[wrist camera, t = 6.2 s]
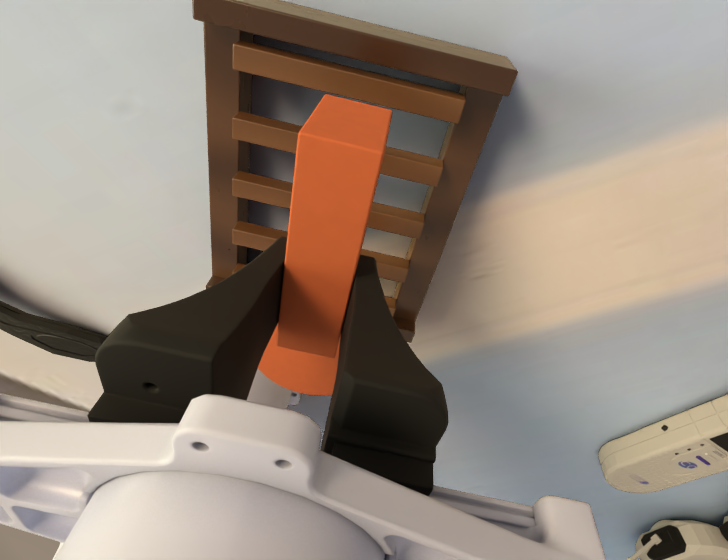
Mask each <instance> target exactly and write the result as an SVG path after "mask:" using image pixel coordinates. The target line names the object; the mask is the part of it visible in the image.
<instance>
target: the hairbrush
mask: <svg viewBox="0 0 728 560" xmlns="http://www.w3.org/2000/svg"><path fill="white" fill-rule="evenodd" d="M0 329H1V330H3V331H5V332H7V333H9V334H11V335H13V336H15V337H17V338H20V339H22V340H24V341H26V342H29V343H31V344H33V345H35V346H37V347H40V348H42V349H44V350H46V351H49V352H51V353H53V354H57V355H62V356H66V357H71V358H75V359H80V360H84V361H89V362H96V361H95V355H96V352H97V350H98V348H99V347H100V346H101V345H102V343H103V342H104V341H105V340H106V338H107V337H106V336H104V335H100V334H97V333H94V332H91V331H88V330H85V329H81V328H78V327H75V326H72V325H69V324H65V323H61V322H57V321H54V320H50V319H46V318H43V317H39V316H35V315H32V314H28V313H25V312H23V311H21V310H19V309H17V308H15V307H13V306H11V305H9V304H6V303H4V302H2V301H0Z"/></svg>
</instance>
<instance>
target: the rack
mask: <svg viewBox="0 0 728 560" xmlns="http://www.w3.org/2000/svg"><path fill="white" fill-rule="evenodd" d="M192 4H193V18H194V19H195V20H199V21H203V22H204V48H205V76H206V105H207V133H208V162H209V191H210V219H211V248H212V277H211V279H210V280H209V282H208V283H207V285H206V289H208V288H210V287H212V286H214V285H215V284H217V283H219V282H221V281H223V280H224V279H226V278H228V277H229V276H231V275H232V274H234V273H235V272H237V271H238V270H240V269H241V268H243V267H244V266H246V265H247V247H249V248H254V249H258V250H262V251H265V250H266V249H267V248H268V247H270V246H271V245H272V244H273V243H274V242H275V241H276V240H277V239H278V238H280V237H282V236H283V237H287V235H288V232H286V231H282V230H277V229H273V228H269V227H264V226H260V225H256V224H251V223H248V199H249V200H253V201H258V202H262V203H266V204H271V205H275V206H279V207H283V208H288V209H290V206H291V197H292V187H293V183H290V182H285V181H281V180H277V179H273V178H268V177H264V176H260V175H256V174H251V173H249V164H250V143H253V144H258V145H262V146H266V147H270V148H274V149H279V150H283V151H287V152H291V153H296V149H297V140H298V133H299V131H300V130H301V128H302V127H303V126H299V125H295V124H291V123H287V122H283V121H278V120H274V119H270V118H266V117H262V116H258V115H253V114H251V96H252V74H254V75H258V76H262V77H266V78H271V79H275V80H279V81H283V82H287V83H291V84H295V85H299V86H303V87H308V88H312V89H316V90H320V91H324V92H328V93H332V94H336V95H341V96H345V97H349V98H353V99H357V100H361V101H365V102H369V103H373V104H378V105H382V106H386V107H390V108H394V109H398V110H402V111H406V112H410V113H415V114H419V115H423V116H427V117H431V118H435V119H439V120H443V121H448V122H449V126H448V129H447V132H446V135H445V138H444V141H443V144H442V147H441V150H440V153H439V156H438V159H437V158H433V157H429V156H425V155H420V154H416V153H412V152H408V151H404V150H400V149H395V148H391V147H387V146H386V148H385V153H384V158H383V162H382V166H381V170H380V174H384V175H388V176H393V177H397V178H401V179H405V180H409V181H414V182H418V183H422V184H426V185H429V187H428V190H427V194H426V197H425V200H424V203H423V206H422V209H421V212H420V213H418V212H413V211H409V210H405V209H401V208H396V207H392V206H388V205H383V204H379V203H375V202H373V203H372V207H371V211H370V215H369V220H368V224H367V227H370V228H374V229H378V230H383V231H387V232H391V233H395V234H400V235H404V236H408V237H412V240H411V243H410V246H409V249H408V252H407V255H406V258H405V259H403V258H399V257H395V256H390V255H386V254H382V253H377V252H373V251H369V250H364V249H361V253H360V254H361V255H365V256H369V257H374V258H375V260H376V263H377V271H378V276H379V277H381V278H385V279H389V280H394V281H398V283H397V286H396V289H395V292H394V295H393V298H391V297H386V296H384V297H385V299H386V302H387V305H388V307H389V310H390V312H391V314H392V317H393V319H394V321H395V323H396V325H397V327H398V329H399V330H400V332H401V334H402V336H403V337H404V339H405V341H406V342H409V343H411V342H412V339H413V337H414V334H415V321H416V318H417V316H418V313H419V311H420V308H421V305H422V303H423V300H424V298H425V295H426V293H427V290H428V287H429V285H430V282H431V280H432V277H433V274H434V272H435V269H436V267H437V264H438V262H439V259H440V256H441V254H442V251H443V249H444V246H445V243H446V241H447V238H448V236H449V233H450V231H451V228H452V225H453V223H454V220H455V218H456V215H457V212H458V210H459V207H460V205H461V202H462V200H463V197H464V194H465V192H466V189H467V187H468V184H469V181H470V179H471V176H472V174H473V171H474V169H475V166H476V163H477V161H478V158H479V156H480V153H481V150H482V148H483V145H484V143H485V140H486V138H487V135H488V132H489V130H490V127H491V125H492V122H493V119H494V117H495V114H496V112H497V109H498V107H499V104H500V101H501V99H502V96H508V95H509V94H510V91H511V89H512V86H513V84H514V81H515V79H516V76H517V74H518V71H517V70H516V68H515V67H514V66H513V64H512V63H511V62H510V60H509V59H508V58H507V57H505V56H501V55H497V54H493V53H489V52H485V51H481V50H477V49H473V48H469V47H465V46H461V45H457V44H453V43H449V42H445V41H441V40H437V39H433V38H429V37H425V36H421V35H417V34H413V33H409V32H405V31H401V30H397V29H393V28H389V27H385V26H381V25H377V24H373V23H369V22H365V21H361V20H357V19H353V18H349V17H345V16H341V15H337V14H333V13H329V12H325V11H321V10H317V9H313V8H309V7H305V6H301V5H297V4H293V3H289V2H285V1H281V0H192ZM253 34H256V35H260V36H264V37H268V38H272V39H276V40H280V41H284V42H288V43H292V44H296V45H300V46H304V47H308V48H312V49H316V50H320V51H325V52H329V53H333V54H337V55H341V56H345V57H349V58H353V59H357V60H361V61H365V62H369V63H373V64H377V65H381V66H385V67H389V68H394V69H398V70H402V71H406V72H410V73H414V74H418V75H422V76H426V77H430V78H434V79H438V80H442V81H446V82H450V83H454V84H459V85H461V89H460V92H459V93H456V92H452V91H448V90H444V89H440V88H436V87H432V86H428V85H423V84H419V83H415V82H411V81H407V80H403V79H399V78H395V77H391V76H387V75H383V74H379V73H375V72H371V71H366V70H362V69H358V68H354V67H350V66H346V65H342V64H338V63H334V62H330V61H326V60H322V59H318V58H314V57H309V56H305V55H301V54H297V53H293V52H289V51H285V50H281V49H277V48H273V47H269V46H265V45H261V44H256V43H253Z"/></svg>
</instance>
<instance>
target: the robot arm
mask: <svg viewBox="0 0 728 560" xmlns="http://www.w3.org/2000/svg"><path fill="white" fill-rule="evenodd" d="M286 245H287V237H283V236H282V237H280V238H278V239H277V240H276V241H275V242H274V243H273V244H272V245H271V246H270V247H268V248H267V249H266V250H265V251H264V252H262V253H261V254H260V255H259V256H257V257H256V258H255V259H254V260H252V261H251V262H250V263H248V264H247V265H246V266H244V267H243V268H241V269H240V270H238V271H237V272H235V273H234V274H232V275H231V276H229V277H228V278H226V279H224V280H223V281H221V282H219V283H217V284H215V285H214V286H212V287H210V288H208V289H206V290H203V291H201V292H199V293H196V294H194V295H192V296H190V297H187V298H185V299H182V300H179V301H176V302H173V303H170V304H167V305H164V306H161V307H157V308H153V309H149V310H145V311H141V312H137V313H133V314H129V315H128V316H127V317H126V318H125V319H124V320H123V321H122V322H120V323H119V324H118V326H117V327H116V328H115V329H114V330H113V331H112V332H111V334H110V335H109V336H108V337H107V338H106V340H105V341H104V342H103V343H102V345H101V346H100V347H99V348H98V350H97V352H96V355H95V361H96V366H97V370H98V373H99V376H100V379H101V383H102V386H103V389H104V393H103V394H102V396H101V397H100V398H99V400H98V401H97V402H96V404H95V405H94V407H93V408H92V409H91V411H90V412H86V411H81V410H76V409H72V408H67V407H62V406H58V405H53V404H48V403H44V402H39V401H34V400H29V399H25V398H20V397H15V396H11V395H6V394H1V393H0V523H1V524H4V525H7V526H10V527H14V528H17V529H20V530H24V531H27V532H30V533H33V534H36V535H40V536H43V537H46V538H49V539H53V540H56V541H59V542H60V546H59V548H58V550H57V552H56V554H55V556H54V558H53V560H606V558H605V554H604V551H603V547H602V544H601V541H600V537H599V534H598V531H597V527H596V524H595V521H594V517H593V514H592V511H591V507H590V505H589V504H588V503H585V502H581V501H576V500H571V499H567V498H562V497H557V496H544V497H542V498H540V499H539V500H538V501H537V502H536V503H535V504H534V506H533V507H532V506H527V505H522V504H518V503H513V502H508V501H504V500H499V499H494V498H489V497H485V496H480V495H475V494H471V493H466V492H461V491H457V490H452V489H447V488H443V487H438V486H433V463H434V462H435V460H436V446H437V444H438V442H439V441H440V439H441V437H442V436H443V434H444V432H445V431H446V428H447V425H448V410H447V404H446V399H445V395H444V391H443V387H442V384H441V383H440V382H439V381H438V380H437V379H436V378H435V377H434V376H433V375H432V374H431V373H430V372H429V371H428V370H427V369H426V368H425V366H424V365H423V364H422V363H421V362H420V360H419V359H418V358H417V357H416V355H415V354H414V352H413V351H412V349H411V348H410V347H409V345H408V344H407V342H406V341H405V339H404V337H403V336H402V334H401V332H400V330H399V329H398V327H397V325H396V323H395V321H394V319H393V317H392V314H391V312H390V310H389V307H388V305H387V302H386V299H385V297H384V293H383V290H382V287H381V284H380V280H379V276H378V271H377V263H376V260H375V258H374V257H369V256H365V255H361V254H360V257H359V261H358V265H357V269H356V273H355V277H354V281H353V286H352V290H351V294H350V298H349V302H348V306H347V310H346V314H345V319H344V323H343V327H342V331H341V338H340V347H339V357H338V366H337V373H336V379H335V384H334V389H333V393H332V398H331V403H330V407H329V412H328V417H327V421H326V426H325V431H324V435H323V440H322V445H321V449H320V450H319V446H320V442H321V432H320V427H319V426H318V425H317V424H316V423H315V422H314V421H313V420H312V419H310V418H309V417H308V416H306V415H303V414H301V413H298V412H296V411H292V410H288V409H287V405H288V404H290V405H297V404H298V403H299V399H300V394H301V393H298V392H295V391H292V390H289V389H286V388H284V387H282V386H280V385H278V384H276V383H275V382H273V381H272V380H270V379H269V378H267V377H266V376H265V375H264V374H263V373H262V372H261V371H260V370H259V369H258V366H259V363H260V361H261V358H262V356H263V353H264V351H265V349H266V347H267V345H268V343H269V341H270V339H271V336H272V334H273V332H274V330H275V328H276V326H277V324H278V321H279V311H280V302H281V292H282V283H283V273H284V264H285V254H286Z"/></svg>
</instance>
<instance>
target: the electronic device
mask: <svg viewBox="0 0 728 560" xmlns="http://www.w3.org/2000/svg"><path fill="white" fill-rule="evenodd" d="M598 457H599V461H600V464H601V467H602V470H603V474H604V477H605V479H606V481H607V482H608V483H609V484H610V485H611V486H613V487H614V488H616V489H619V490H622V491H625V492H632V493H647V492H656V491H659V490H663V489H666V488H669V487H673V486H676V485H679V484H683V483H686V482H689V481H692V480H696V479H699V478H702V477H706V476H709V475H712V474H716V473H719V472H722V471H726V470H728V394H727V395H725V396H722V397H720V398H717V399H715V400H712V401H710V402H707V403H705V404H702V405H700V406H697V407H695V408H692V409H690V410H687V411H684V412H682V413H679V414H677V415H674V416H672V417H669V418H667V419H664V420H662V421H659V422H657V423H654V424H652V425H649V426H647V427H644V428H642V429H640V430H638V431H636V432H633V433H631V434H628V435H626V436H623V437H621V438H618V439H614V440H612V441H610V442H608V443H606V444H605V445H604V446H603V447H601V449H600V451H599V454H598Z"/></svg>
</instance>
